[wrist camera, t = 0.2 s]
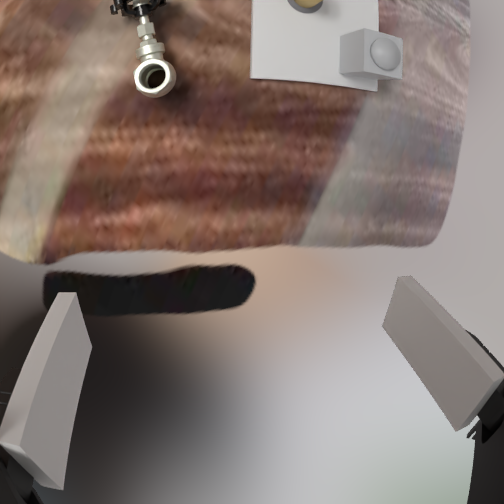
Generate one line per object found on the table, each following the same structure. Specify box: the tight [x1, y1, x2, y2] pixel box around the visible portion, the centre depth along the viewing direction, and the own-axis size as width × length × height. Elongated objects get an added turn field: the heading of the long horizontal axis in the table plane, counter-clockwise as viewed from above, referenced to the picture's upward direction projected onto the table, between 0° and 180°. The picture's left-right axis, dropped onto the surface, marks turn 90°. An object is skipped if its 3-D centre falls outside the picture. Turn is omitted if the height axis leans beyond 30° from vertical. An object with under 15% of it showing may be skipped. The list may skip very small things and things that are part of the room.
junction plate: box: [250, 0, 379, 92], centre depth 28 cm, size 16×16×6 cm
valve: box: [110, 0, 176, 98], centre depth 26 cm, size 7×7×12 cm
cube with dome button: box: [339, 28, 403, 80], centre depth 29 cm, size 5×5×7 cm
